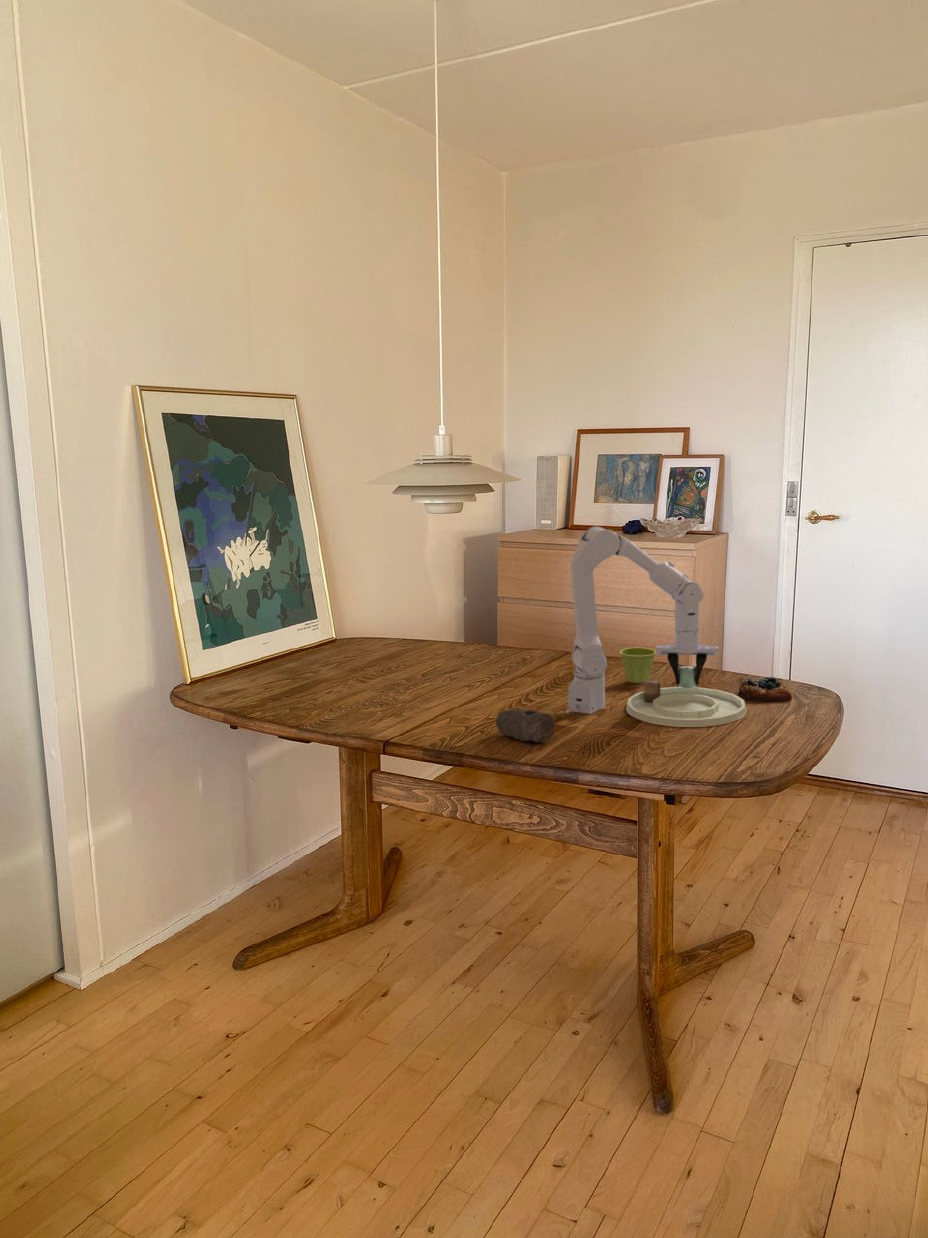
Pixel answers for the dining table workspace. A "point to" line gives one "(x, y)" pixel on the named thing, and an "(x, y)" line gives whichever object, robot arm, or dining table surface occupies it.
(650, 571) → the robot arm
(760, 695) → the pastry
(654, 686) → the walnut bead
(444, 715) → the dining table surface
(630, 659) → the plant pot
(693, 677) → the teal bead
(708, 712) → the groove tray
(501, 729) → the perforated stone tool
